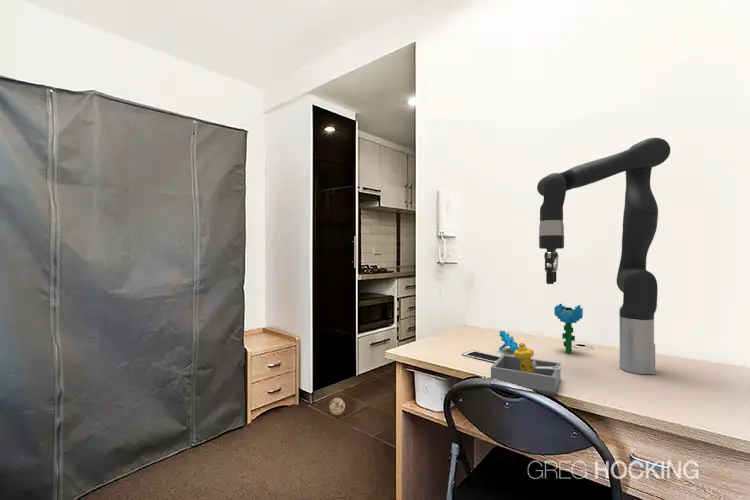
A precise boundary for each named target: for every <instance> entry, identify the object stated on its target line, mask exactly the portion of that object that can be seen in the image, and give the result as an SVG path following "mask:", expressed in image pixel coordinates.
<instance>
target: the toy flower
mask: <svg viewBox="0 0 750 500" xmlns="http://www.w3.org/2000/svg"><path fill="white" fill-rule="evenodd" d="M583 314H584V308H583V307H582V306H581V305H579V304H577V305H576V306H574V308H573V307H569V306H566V305H563V303H559V304H557V305H556V306H554V316H555V317H557V319H559V321H560V322H562V323H564V325H563V331H564V332H563V333H562V334H561V337H562V339H563V340H565V341H563V342H562V343H563V345H562V346H563V347H565V354H572V352H573V351H572V350H573V346H572V345H573V342H575V341H576V336H575V335H572V334H573V333H574V327H572V325H573V324H577V323H578V322H579V321H580V320H581V319H583ZM572 341H573V342H572Z"/></svg>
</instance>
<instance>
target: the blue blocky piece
mask: <svg viewBox="0 0 750 500" xmlns="http://www.w3.org/2000/svg"><path fill="white" fill-rule="evenodd" d="M498 335H499V336H500V339H501V342H502V341H503V342H504V343H503V344H502V345H501V346H500V347H499V350H500V351H502V350H503V349H505V347H509V350H510V351H511V352H513V353H514V352H515V351H516V350H518V348H519V343H518V342H516V341H515V338H514V336H513V335H511V336H510V334H509V332H506V331H505V330H500V331H499V334H498Z"/></svg>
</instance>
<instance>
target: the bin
mask: <svg viewBox="0 0 750 500" xmlns="http://www.w3.org/2000/svg"><path fill="white" fill-rule="evenodd" d="M531 361H532V362H533V361H535V362H536V364H537V366H540V367H553V366H560V367H561V362H557V361H556V362H555V361H548V360H544V359H543V360H542V359H536V358H531ZM492 364H493V365H492V366H490V380H491V379H497V380H500V381H504V382H509V383H512V384H516V385H518V386H522V387H526V388H530V389H533V390H535V391H537V392H539V393H542V394H541V395H544V396H550V397H555V398H556V397H557V394H558V390H559V386H560V382H561V369H559V370H551V369H534V373H529V372H523V371H521V368H520V359H518V358H516V357H515V356H514V355H508V354H507V355H506V354H501V355H500V358H499V359H498V360H497V361H496V362H495V363H492ZM553 369H557V367H555V368H553Z"/></svg>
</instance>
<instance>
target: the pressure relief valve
mask: <svg viewBox="0 0 750 500" xmlns="http://www.w3.org/2000/svg"><path fill="white" fill-rule="evenodd" d="M518 347H519V348H518V350H516V351H515V352H514V351H513V356H515V357H516V358H518V359H520V368H521V371H523V372H529V373H534V369H551V370H559V369H560V370H561V369H562V367H561V365H560V366H553V367H540V366H537V364H536V362H535V361H533V362H532V361H531V359H532V358H533V356H534V355H535V351H534V350H533V349H532V348H528V347H527V346H526V344H525V342H520V343H518ZM555 367H557V369H553V368H555Z"/></svg>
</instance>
